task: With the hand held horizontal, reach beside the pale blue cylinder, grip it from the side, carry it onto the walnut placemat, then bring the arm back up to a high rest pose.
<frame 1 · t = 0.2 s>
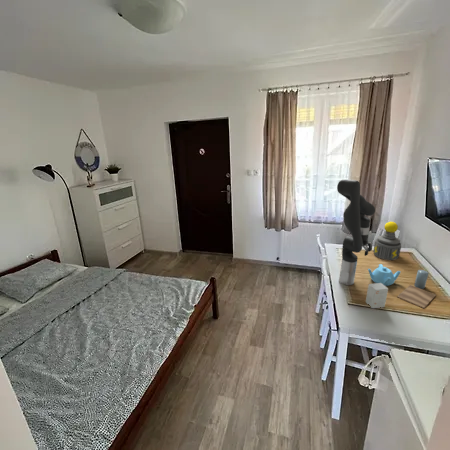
hand: (359, 253, 176), 18 cm above the table, tool pointing down, fingers open, 8 cm apart
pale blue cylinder: (419, 286, 165), on the table
small box: (374, 304, 150), on the table
toy tesla coil: (385, 255, 209), on the table
placemat: (416, 296, 156), on the table
teapot: (381, 281, 173), on the table
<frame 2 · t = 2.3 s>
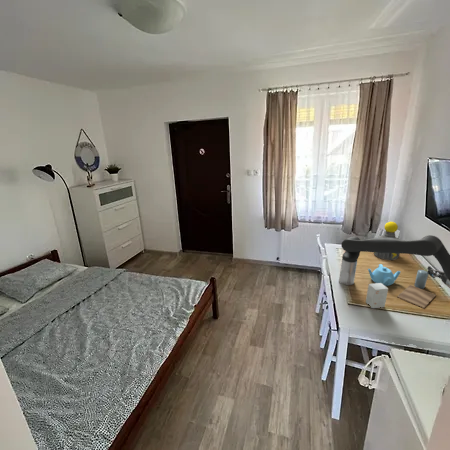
hand: (436, 268, 149), 20 cm above the table, tool horizontal, fingers open, 8 cm apart
nothing on the table moved.
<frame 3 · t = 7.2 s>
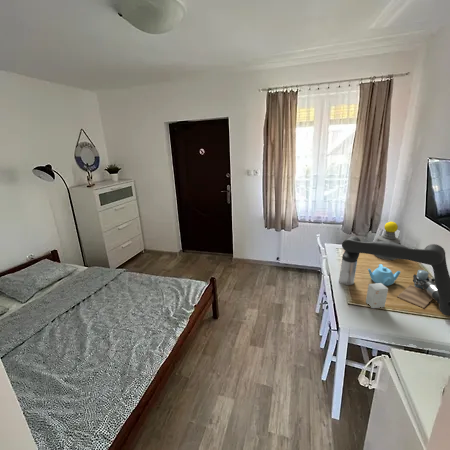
hand: (419, 275, 166), 7 cm above the table, tool horizontal, fingers closed on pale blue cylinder, 5 cm apart
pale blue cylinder: (419, 286, 165), on the table, touching gripper
everything else where it was.
when the fingers open (8 cm above the table, at t = 12.4 s): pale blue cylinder stays where it is, resting on placemat.
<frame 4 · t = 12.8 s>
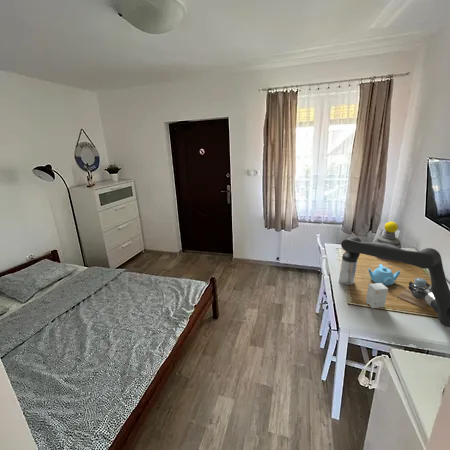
hand: (417, 283, 154), 8 cm above the table, tool horizontal, fingers open, 8 cm apart
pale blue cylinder: (416, 295, 155), point 1 cm above the table, touching placemat
everything else where it was.
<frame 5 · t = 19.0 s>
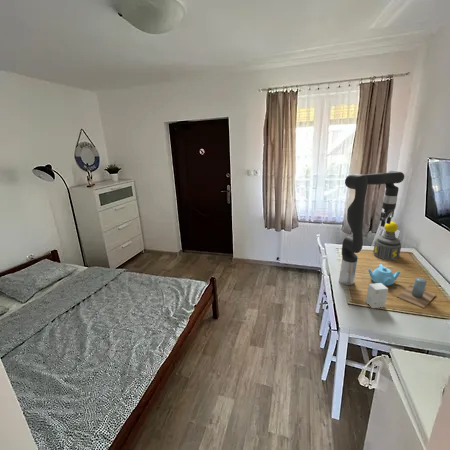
hand: (385, 225, 169), 38 cm above the table, tool pointing down, fingers open, 8 cm apart
nothing on the table moved.
at the end: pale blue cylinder inside the target area on the placemat (0.1 cm from its centre), point 0.8 cm above the placemat's base; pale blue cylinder tilted 0°; the gripper is holding nothing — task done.
